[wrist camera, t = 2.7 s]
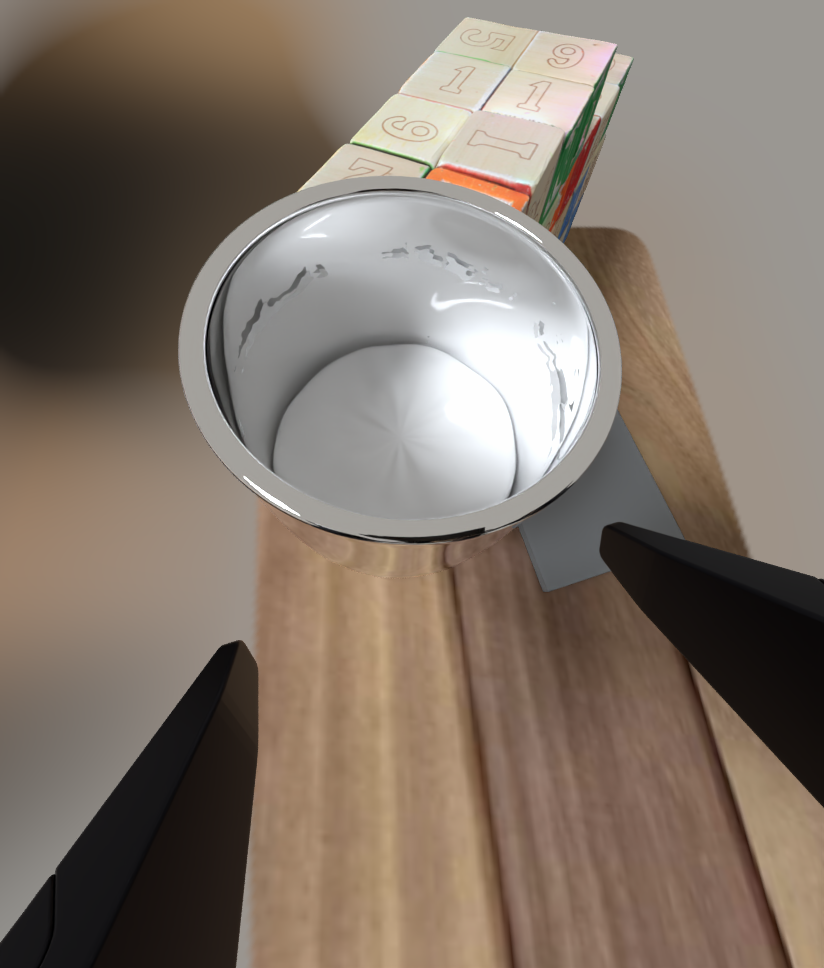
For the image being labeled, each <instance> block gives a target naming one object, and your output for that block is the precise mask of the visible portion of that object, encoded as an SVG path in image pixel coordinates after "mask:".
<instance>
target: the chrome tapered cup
mask: <svg viewBox="0 0 824 968" xmlns="http://www.w3.org/2000/svg"><path fill="white" fill-rule="evenodd" d="M178 358H179V369H180V376H181V381H182V386H183V390H184V394H185V396H186V400H187V403H188V406H189V408H190V411H191V413H192V416H193V418H194V420H195V422H196V424H197V426H198V428H199V430H200V432H201V433H202V435H203V437H204V439H205V440H206V442H207V443H208V445H209V446H210V448H211V449H212V450H213V452H214V453H215V455H216V456H217V457H218V458H219V459H220V461H221V462H222V463H223V464H224V466H225V467H226V468H227V469H228V470H229V471H230V472H231V473H232V474H233V475H234V476H235V477H236V478H237V479H238V480H239V481H240V482H241V483H242V484H244V485H245V486H246V487H247V488H248V489H249V490H251V491H252V492H253V493H254V494H256V496H257V497H258V498H259V499H260V500H261V501H262V503H263V504H264V505H265V506H266V507H267V508H268V509H269V510H270V511H271V513H272V514H273V515H274V516H275V517H276V518H277V519H278V520H279V521H280V522H281V523H282V524H283V525H284V526H285V527H286V528H287V529H288V530H289V531H290V532H291V533H292V534H293V535H295V536H296V537H297V538H298V539H299V540H301V541H302V542H303V543H304V544H306V545H307V546H308V547H310V548H311V549H312V550H313V551H315V552H316V553H318V554H319V555H321V556H322V557H324V558H326V559H327V560H329V561H331V562H333V563H335V564H337V565H339V566H341V567H344V568H346V569H349V570H352V571H355V572H358V573H362V574H365V575H369V576H374V577H381V578H412V577H419V576H425V575H430V574H434V573H438V572H441V571H444V570H447V569H449V568H452V567H454V566H457V565H459V564H461V563H463V562H465V561H467V560H468V559H470V558H472V557H474V556H476V555H478V554H479V553H481V552H483V551H484V550H486V549H487V548H489V547H490V546H492V545H493V544H495V543H496V542H497V541H499V540H500V539H501V538H503V537H504V536H505V535H507V534H508V533H509V532H511V531H512V530H513V529H515V528H516V527H517V526H518V525H520V524H521V523H522V522H523V521H524V520H526V519H528V518H530V517H531V516H533V515H535V514H537V513H538V512H540V511H541V510H543V509H544V508H546V507H547V506H549V505H550V504H551V503H553V502H554V501H555V500H557V499H558V498H559V497H560V496H562V495H563V494H564V493H565V492H566V491H567V490H568V489H569V488H571V487H572V486H573V485H574V484H575V482H576V481H577V480H578V479H579V478H580V477H581V476H582V475H583V474H584V472H585V471H586V470H587V469H588V467H589V466H590V465H591V463H592V462H593V461H594V459H595V458H596V456H597V455H598V453H599V451H600V450H601V448H602V446H603V444H604V442H605V441H606V439H607V437H608V434H609V432H610V430H611V427H612V424H613V422H614V419H615V415H616V412H617V408H618V404H619V399H620V392H621V382H622V360H621V350H620V344H619V338H618V334H617V330H616V326H615V323H614V320H613V317H612V314H611V312H610V309H609V307H608V305H607V303H606V301H605V298H604V296H603V295H602V293H601V291H600V289H599V287H598V286H597V284H596V282H595V281H594V279H593V278H592V276H591V275H590V273H589V272H588V271H587V269H586V268H585V267H584V265H583V264H582V263H581V262H580V261H579V259H578V258H577V257H576V256H575V255H574V254H573V253H572V252H571V250H570V249H569V248H568V247H567V246H566V245H565V244H564V243H562V242H561V241H560V240H559V239H558V238H557V237H556V236H555V235H553V234H552V233H551V232H550V231H548V230H547V229H546V228H545V227H543V226H542V225H541V224H539V223H538V222H536V221H535V220H533V219H532V218H531V217H529V216H527V215H526V214H524V213H522V212H521V211H519V210H517V209H515V208H514V207H512V206H510V205H508V204H506V203H504V202H502V201H500V200H497V199H495V198H493V197H491V196H488V195H486V194H483V193H480V192H478V191H475V190H472V189H469V188H466V187H462V186H459V185H455V184H451V183H447V182H442V181H437V180H432V179H425V178H417V177H407V176H368V177H357V178H350V179H343V180H338V181H333V182H329V183H324V184H321V185H317V186H314V187H310V188H307V189H304V190H301V191H299V192H296V193H294V194H291V195H289V196H287V197H284V198H282V199H281V200H278V201H276V202H274V203H272V204H270V205H269V206H267V207H265V208H264V209H262V210H260V211H259V212H257V213H256V214H254V215H253V216H251V217H250V218H249V219H247V220H246V221H244V222H243V223H242V224H241V225H239V226H238V227H237V228H236V229H235V230H234V231H232V232H231V233H230V234H229V235H228V236H227V237H226V238H225V239H224V240H223V241H222V243H221V244H220V245H219V246H218V247H217V248H216V249H215V251H214V252H213V253H212V254H211V256H210V257H209V258H208V260H207V261H206V263H205V264H204V265H203V267H202V269H201V270H200V272H199V274H198V276H197V277H196V279H195V282H194V284H193V286H192V288H191V290H190V293H189V295H188V298H187V301H186V304H185V307H184V311H183V315H182V319H181V325H180V332H179V345H178Z"/></svg>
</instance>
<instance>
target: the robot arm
mask: <svg viewBox="0 0 824 968" xmlns="http://www.w3.org/2000/svg"><path fill="white" fill-rule="evenodd" d="M599 553H600V556H601V558H602V560H603V561H604V562H605V564H606V565H607V566H608V568H609V569H610V570H611V571H612V573H613V574H614V575H615V577H616V578H617V579H618V581H619V582H620V583H621V584H622V586H623V587H624V588H625V590H626V591H627V592H628V594H629V595H630V596H631V598H632V599H633V600H634V601H635V603H636V604H637V605H638V606H639V608H640V609H641V610H642V611H643V612H644V613H645V614H646V616H647V617H648V618H649V619H650V620H651V621H652V622H653V623H654V624H655V625H656V626H657V628H658V629H659V630H660V631H661V632H662V633H663V634H664V635H665V636H666V637H667V638H668V639H669V641H670V642H671V643H672V644H673V645H674V646H675V647H676V648H677V649H678V650H679V651H680V652H681V654H682V655H683V656H684V657H685V658H686V659H687V660H688V661H689V662H690V663H691V664H692V666H693V667H694V668H695V669H696V670H697V671H698V672H699V673H700V674H701V675H702V676H703V677H704V679H705V680H706V681H707V682H708V683H709V684H710V685H711V686H712V687H713V688H714V689H715V690H716V692H717V693H718V694H719V695H720V696H721V697H722V698H723V699H724V700H725V701H726V702H727V703H728V705H729V706H730V707H731V708H732V709H733V710H734V711H735V712H736V713H737V714H738V715H739V716H740V718H741V719H742V720H743V721H744V722H745V723H746V724H747V725H748V726H749V727H750V728H751V729H752V731H753V732H754V733H755V734H756V735H757V736H758V737H759V738H760V739H761V740H762V741H763V742H764V744H765V745H766V746H767V747H768V748H769V749H770V750H771V751H772V752H773V753H774V754H775V755H776V757H777V758H778V759H779V760H780V761H781V762H782V763H783V764H784V765H785V766H786V767H787V768H788V770H789V771H790V772H791V773H792V774H793V775H794V776H795V777H796V778H797V779H798V780H799V781H800V783H801V784H802V785H803V786H804V787H805V788H806V789H807V790H808V791H809V792H810V793H811V794H812V796H813V797H814V798H815V799H816V800H817V801H818V802H819V803H820V804H821V805H822V806H823V807H824V579H817V578H815V577H813V576H810V575H806V574H803V573H799V572H796V571H792V570H789V569H785V568H782V567H778V566H775V565H771V564H767V563H764V562H761V561H757V560H754V559H750V558H747V557H743V556H740V555H736V554H732V553H729V552H725V551H722V550H718V549H715V548H711V547H708V546H704V545H701V544H697V543H694V542H690V541H687V540H683V539H680V538H676V537H673V536H669V535H666V534H662V533H659V532H655V531H652V530H648V529H645V528H641V527H638V526H634V525H631V524H627V523H624V522H615V523H612V524H609V525H606V526H604V528H603V529H602V534H601V540H600V547H599ZM257 756H258V667H257V663H256V661H255V659H254V658H253V656H252V654H251V653H250V651H249V649H248V648H247V646H246V644H245V643H244V642H243V641H241V640H238V641H234V642H231V643H228V644H224V645H222V646H221V647H220V648H219V649H218V650H217V651H216V653H215V654H214V655H213V657H212V658H211V659H210V661H209V662H208V664H207V665H206V666H205V667H204V669H203V670H202V672H201V673H200V674H199V676H198V677H197V678H196V680H195V681H194V682H193V684H192V685H191V686H190V688H189V689H188V690H187V692H186V693H185V694H184V696H183V697H182V699H181V700H180V701H179V703H178V704H177V705H176V707H175V708H174V709H173V711H172V712H171V714H170V715H169V716H168V718H167V719H166V720H165V722H164V723H163V724H162V726H161V727H160V728H159V730H158V731H157V732H156V734H155V735H154V736H153V738H152V739H151V741H150V742H149V743H148V745H147V746H146V747H145V749H144V750H143V751H142V753H141V754H140V755H139V757H138V758H137V759H136V761H135V762H134V764H133V765H132V766H131V768H130V769H129V770H128V772H127V773H126V774H125V776H124V777H123V778H122V780H121V781H120V783H119V784H118V785H117V787H116V788H115V789H114V791H113V792H112V793H111V795H110V796H109V797H108V799H107V800H106V801H105V803H104V804H103V805H102V807H101V808H100V810H99V811H98V812H97V814H96V815H95V816H94V818H93V819H92V820H91V822H90V823H89V825H88V826H87V827H86V828H85V830H84V831H83V832H82V834H81V835H80V837H79V838H78V839H77V841H76V842H75V843H74V845H73V846H72V847H71V849H70V850H69V851H68V853H67V854H66V856H65V857H64V858H63V860H62V861H61V862H60V864H59V865H58V866H57V868H56V871H55V874H53V875H51V876H50V877H49V878H48V880H47V881H46V882H45V884H44V885H43V887H42V888H41V889H40V890H39V892H38V893H37V894H36V896H35V897H34V898H33V900H32V901H31V903H30V904H29V905H28V907H27V908H26V909H25V911H24V912H23V913H22V915H21V916H20V917H19V919H18V920H17V921H16V923H15V924H14V925H13V927H12V928H11V929H10V931H9V932H8V933H7V935H6V936H5V937H4V938H3V940H2V941H1V942H0V968H236V962H237V951H238V942H239V932H240V923H241V913H242V903H243V894H244V884H245V874H246V864H247V855H248V845H249V835H250V826H251V816H252V806H253V796H254V787H255V777H256V767H257Z"/></svg>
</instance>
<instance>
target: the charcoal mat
mask: <svg viewBox="0 0 824 968" xmlns="http://www.w3.org/2000/svg"><path fill="white" fill-rule="evenodd" d="M615 522H624V523H627V524H631V525H634V526H638V527H641V528H645V529H648V530H652V531H655V532H659V533H662V534H666V535H669V536H673V537H676V538H680V539H683V540H685V538H684V536H683V534H682V533H681V531H680V529H679V527H678V525H677V523H676V521H675V519H674V517H673V515H672V513H671V511H670V509H669V508H668V506H667V504H666V502H665V500H664V498H663V496H662V494H661V492H660V490H659V488H658V486H657V484H656V483H655V481H654V479H653V477H652V475H651V473H650V471H649V469H648V467H647V465H646V463H645V461H644V459H643V458H642V456H641V454H640V452H639V450H638V448H637V446H636V444H635V442H634V440H633V438H632V436H631V434H630V433H629V431H628V429H627V427H626V425H625V423H624V421H623V419H622V417H621V415H620V413H619V411H618V409H617V412H616V415H615V419H614V422H613V424H612V427H611V430H610V432H609V434H608V437H607V439H606V441H605V442H604V444H603V446H602V448H601V450H600V451H599V453H598V455H597V456H596V458H595V459H594V461H593V462H592V463H591V465H590V466H589V467H588V469H587V470H586V471H585V472H584V474H583V475H582V476H581V477H580V478H579V479H578V480H577V481H576V482H575V484H574V485H573V486H572V487H571V488H569V489H568V490H567V491H566V492H565V493H564V494H563V495H562V496H560V497H559V498H558V499H557V500H555V501H554V502H553V503H551V504H550V505H549V506H547V507H546V508H544V509H543V510H541V511H540V512H538V513H537V514H535V515H533V516H531V517H530V518H528V519H526V520H524V521H523V522H522V523H521V524H520V525H518V528H519V530H520V533H521V535H522V538H523V540H524V543H525V546H526V548H527V551H528V553H529V556H530V559H531V561H532V564H533V566H534V569H535V572H536V574H537V577H538V579H539V582H540V585H541V587H542V590H543V592H549V591H552V590H555V589H558V588H561V587H564V586H567V585H570V584H573V583H576V582H579V581H582V580H585V579H588V578H591V577H594V576H597V575H600V574H603V573H606V572H609V571H611V570H610V569H609V568H608V566H607V565H606V564H605V562H604V561H603V560H602V558H601V556H600V553H599V547H600V540H601V534H602V529H603V528H604V526H606V525H609V524H612V523H615Z"/></svg>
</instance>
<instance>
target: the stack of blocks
mask: <svg viewBox="0 0 824 968" xmlns="http://www.w3.org/2000/svg"><path fill="white" fill-rule="evenodd" d="M616 49H617V45H616V44H613V43H609V42H604V41H598V40H591V39H585V38H579V37H572V36H566V35H561V34H555V33H550V32H544V31H536V30H532V29H525V28H517V27H512V26H508V25H503V24H499V23H494V22H490V21H484V20H479V19H474V18H468V17H466V18H465V19H464V20H463V21H462V22H461V23H460V24H459V25H458V26H457V27H456V28H455V29H454V30H453V31H452V32H451V33H450V35H448V37H447V38H446V39H445V40H444V41H443V42H442V43H441V44H440V45H439V46H438V48H437V49H436V50H435V52H434V53H433V54H432V55H431V56H430V57H429V58H427V59H426V60H425V62H424V63H423V64H422V65H421V66H420V67H419V69H417V71H416V72H415V73H414V74H413V75H412V76H411V77H410V78H409V79H408V80H407V81H406V82H405V83H404V85H403V86H402V87H401V89H400V91H399V93H398V94H396V95H394V96H392V97H391V98H390V99H389V100H388V101H387V102H386V103H385V104H384V105H383V106H382V107H381V109H380V110H379V111H378V112H377V113H376V114H375V115H374V116H373V117H372V118H371V119H370V120H369V121H368V122H367V123H366V124H365V125H364V126H363V127H362V128H361V129H360V130H359V132H358V133H357V134H356V135H355V136H354V137H353V138H352V140H351V142H350V144H345V145H343V146H342V147H341V148H340V149H339V150H337V151H336V153H335V154H334V155H333V156H332V157H331V158H330V159H329V160H328V161H327V162H326V163H325V164H324V165H323V166H322V167H321V168H320V169H319V171H317V172H316V174H314V175H313V176H312V178H311V179H310V180H308V181H307V182H306V183H305V184H304V185H303V186H302V187H301V188H300V189H299V190H298V191H297V192H299V191H301V190H304V189H307V188H310V187H314V186H317V185H321V184H324V183H329V182H333V181H338V180H343V179H350V178H357V177H368V176H407V177H417V178H425V179H432V180H437V181H442V182H447V183H451V184H455V185H459V186H462V187H466V188H469V189H472V190H475V191H478V192H480V193H483V194H486V195H488V196H491V197H493V198H495V199H497V200H500V201H502V202H504V203H506V204H508V205H510V206H512V207H514V208H515V209H517V210H519V211H521V212H522V213H524V214H526V215H527V216H529V217H531V218H532V219H533V220H535V221H536V222H538V223H539V224H541V225H542V226H543V227H545V228H546V229H547V230H548V231H550V232H551V233H552V234H553V235H555V236H556V237H557V238H558V239H559V240H560V241H561V242H562V243H564V242H565V240H566V238H567V235H568V233H569V230H570V228H571V225H572V222H573V219H574V217H575V214H576V212H577V209H578V207H579V204H580V202H581V199H582V197H583V194H584V191H585V189H586V187H587V185H588V182H589V179H590V177H591V174H592V172H593V169H594V167H595V164H596V161H597V159H598V156H599V153H600V151H601V148H602V145H603V143H604V140H605V137H606V134H605V132H606V129H607V127H608V125H609V122H610V119H611V117H612V114H613V111H614V109H615V106H616V104H617V101H618V99H619V96H620V93H621V90H622V88H623V86H624V83H625V80H626V78H627V75H628V72H629V70H630V68H631V65H632V62H633V60H634V59H633V58H632V57H629V56H624V55H620V54H615V52H616Z"/></svg>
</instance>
